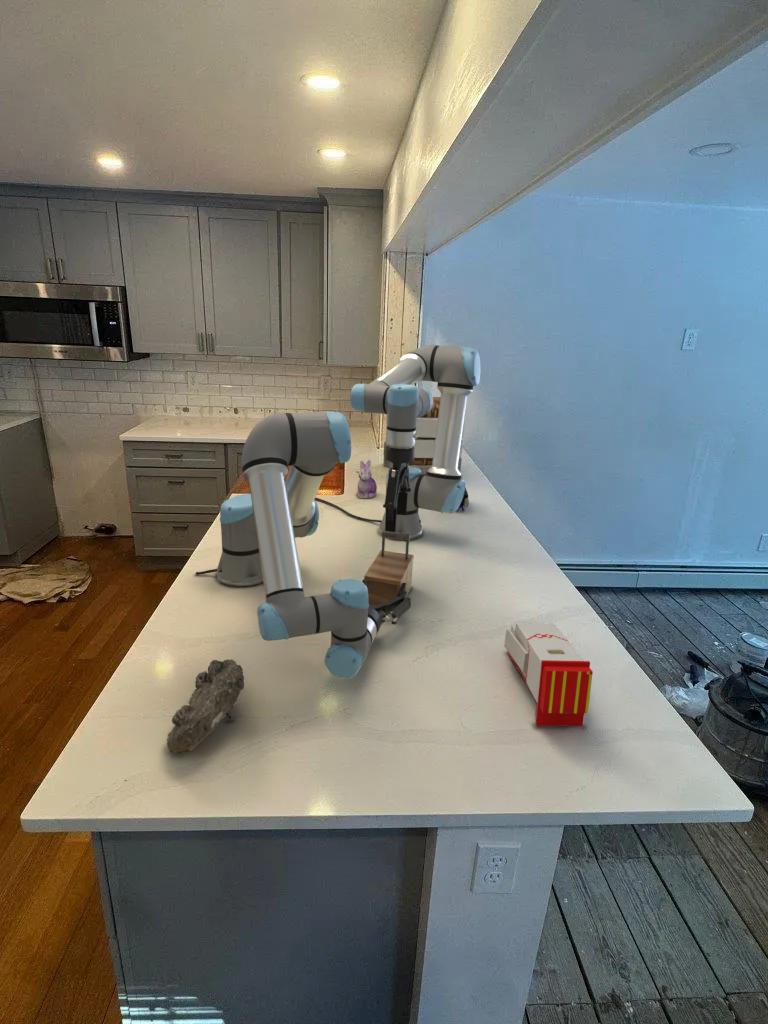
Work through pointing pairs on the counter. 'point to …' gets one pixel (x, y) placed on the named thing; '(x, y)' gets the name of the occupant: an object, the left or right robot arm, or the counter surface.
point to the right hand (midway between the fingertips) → (396, 522)
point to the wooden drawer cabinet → (425, 438)
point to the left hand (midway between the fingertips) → (385, 584)
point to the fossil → (206, 705)
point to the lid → (390, 562)
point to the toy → (551, 672)
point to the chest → (386, 589)
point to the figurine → (366, 481)
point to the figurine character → (464, 500)
